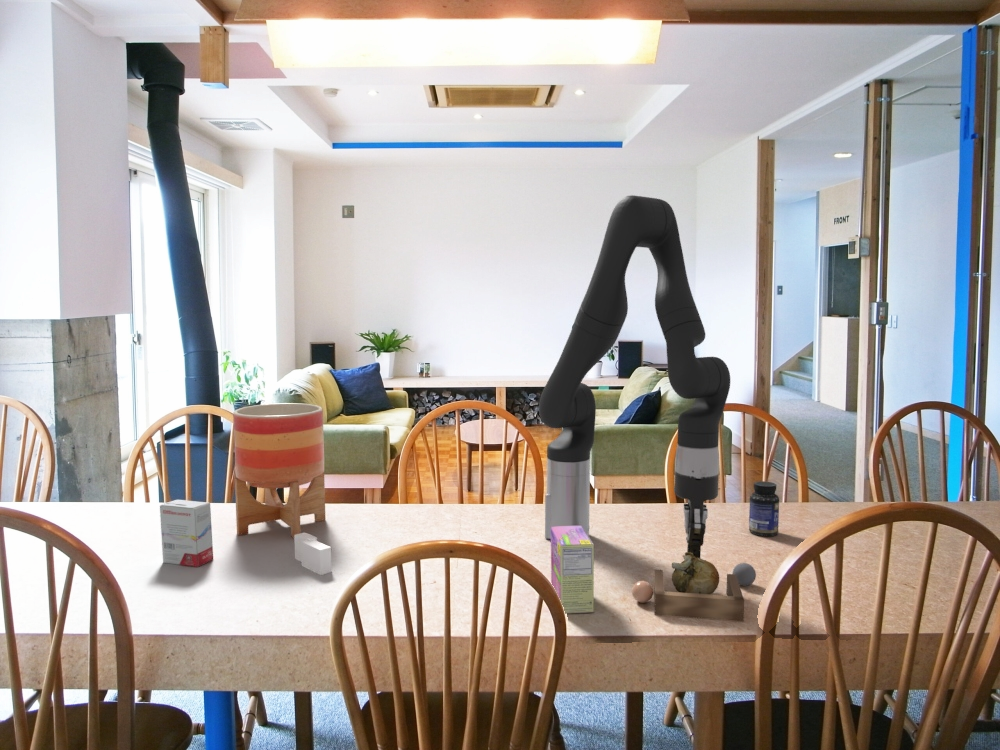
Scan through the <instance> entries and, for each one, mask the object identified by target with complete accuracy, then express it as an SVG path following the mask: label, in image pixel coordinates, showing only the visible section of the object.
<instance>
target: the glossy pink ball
mask: <svg viewBox="0 0 1000 750" xmlns="http://www.w3.org/2000/svg"><path fill="white" fill-rule="evenodd" d="M631 595H632V597H633V599H634V600H635V601H637V602H638V603H642V604H645V603H649V601H651V600H652V599H653V597H654V587H653V586H652V585H651V584H650V583H649V582H648V581H646V580H638V581H636V582H635V583H634V584H633V586H632V588H631Z"/></svg>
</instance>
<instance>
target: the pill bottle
mask: <svg viewBox="0 0 1000 750" xmlns="http://www.w3.org/2000/svg"><path fill="white" fill-rule="evenodd" d="M753 489H754V492H752V493H751V494H750V495H749V511H748V512H749V513H748V515H749V516H748V518H749V519H748V530H749V532H750V533H751V534H753V535H755V536H760V537H770V538H771V537H776V536H777V535H778V534H779V521H780V520H779V518H780V517H779V516H780V497H779V496H778V494H776V491H777V484H776V483H775V482H772V481H765V480H763V481H761V480H760V481H755V482H753Z"/></svg>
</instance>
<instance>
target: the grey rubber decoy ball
mask: <svg viewBox="0 0 1000 750" xmlns="http://www.w3.org/2000/svg"><path fill="white" fill-rule="evenodd" d="M756 573H757V572H756V569H755V568H754V567H753V566H752V564H749V563H747V562H741V563H737V564H736V565H735V566H734V568H733V570H732V574H736V576H737V579H738V583H739V586H744V587H747V586H750V585H752V584H753V583H754V582H755V580H756V577H757V574H756Z"/></svg>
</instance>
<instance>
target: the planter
mask: <svg viewBox="0 0 1000 750" xmlns="http://www.w3.org/2000/svg"><path fill="white" fill-rule="evenodd" d="M323 411H324V410H323V408H322V407H321V406H320V405H316V404H310V403H298V402H297V403H293V402H291V403H290V402H288V403H287V402H284V403H283V402H282V403H281V402H280V403H267V404H256V405H249V406H244V407H240V408H237V409H235V410H234V411H233V413H232V414H233V415H232V416H233V417H232V418H233V419H232V420H233V421H232V423H233V439H234V440H233V441H234V464H235V466H234V468H235V477H236V478H234V492H235V494H234V495H235V518H236V519H235V521H236V534H237V535H238V536H243V535H244V536H245V535H249V526H250V525H256V524H261V523H262V524H263V523H267V522H272V521H278V520H279V521H282V522H283V523H284V524H286V525H287V526H288V527H289V528H290V536H291V537H292V538H293V539H294V535H296V534H300V533H302V530H301V529H302V527H301V517H302V516H303V517H304V516H309V515H314V521H315V522H322V521H326V495H325V494H326V493H325V492H326V491H325V489H326V488H325V486H326V485H325V446H324V445H325V444H324V412H323ZM306 484H309V485H308V487H307V488H306V490H304V492H303V493H302V494H301V495H300V486H302V485H303V486H304V485H306ZM248 485H249V486H250V487H254V488H259V489H264V503H262V502H261V501H258V500H257V499H255V497H254V496H253V495H252V493H251V491H250V490H249V488H248ZM285 488H286V489H287V488H289V490H288V498H287V501H286V504H284V503H283V502H282V500H281V499H280V496H279V494H278V491H277V489H285Z"/></svg>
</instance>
